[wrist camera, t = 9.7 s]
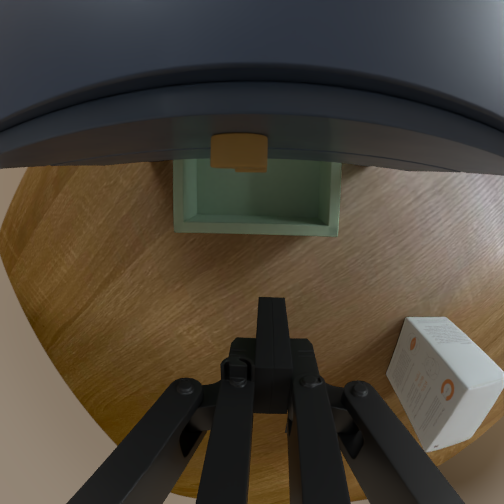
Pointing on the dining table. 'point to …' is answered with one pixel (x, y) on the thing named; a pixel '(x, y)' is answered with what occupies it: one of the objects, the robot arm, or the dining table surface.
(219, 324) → the dining table surface
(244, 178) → the storage tub
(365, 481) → the robot arm
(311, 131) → the drawer cabinet
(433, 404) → the small box
